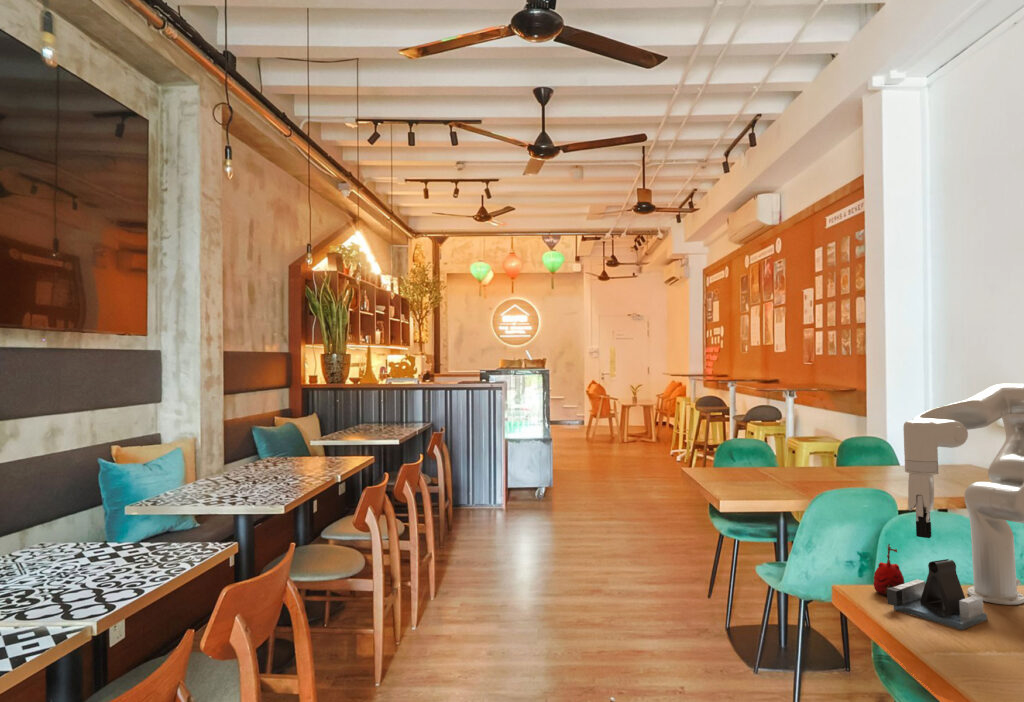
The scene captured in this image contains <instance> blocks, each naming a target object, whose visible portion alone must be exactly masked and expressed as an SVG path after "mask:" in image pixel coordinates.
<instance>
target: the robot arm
mask: <svg viewBox="0 0 1024 702" xmlns="http://www.w3.org/2000/svg"><path fill="white" fill-rule="evenodd" d="M1001 419H1002V423H1003V427H1004V432H1005V441H1004V443H1003V445H1002V446H1001V448H1000V449H999V451H998V452H997V454H996V455H995V457H994V459H993V460H992V462H991V464H990V465H989V466H988V470H987V477H988V478H989V480H990V481H975V482H973V483H970V484H969V485H968V486H966V488H965V490H964V505H965V506H966V507H965V508H966V510H967V514H968V518H969V524H970V525H969V526H970V537H971V538H970V541H971V554H972V555H971V556H972V557H971V558H972V571H973V572H972V577H973V585H972V586H968V588H967V594H968V595H969V597H970V596H973V595H975V596H979V597H983V602H985V603H990V604H991V603H992V604H997V605H1007V606H1014V605H1015V606H1016V605H1021V604H1024V595H1023V594H1021V593H1020V592H1018V586H1020V585H1021V581H1020V579H1019V578H1017V572H1016V570H1017V569H1016V553H1015V537H1014V534H1013V533H1014V532H1013V530H1012V527H1011V526H1010V524H1009V523H1008V521H1009V522H1012V523H1013V522H1014V523H1017V524H1019V523H1020V524H1024V383H997V384H994V385H990V386H988V387H987V388H985V389H983V390H981V391H980V392H978V393H976V394H974V395H973V396H970V397H968V398H967V399H964V400H961V401H956V402H952V403H949V404H946V405H942V406H938V407H935V408H931V409H929V410H925V411H923V412H922V413H920V414H918V415H917V416H915V417H913V418H912V419H911V420H907V421H905V422H904V424H903V428H902V429H903V451H904V453H903V454H904V472H905V473H908V480H907V481H908V483H907V484H908V487H907V488H908V489H907V490H908V491H907V492H908V494H907V495H908V496H907V498H908V499H907V504H908V505H907V507H908V508H907V509H908V511H913V510H914V509H915V535H916V537H918V538H926V539H931V538H932V522H931V511H932V510H933V508H934V507H935V481H934V480H935V479H934V478H935V477H934V475H939V474H940V473H939V452H938V449H939V448H947V449H948V448H949V449H950V448H952V449H953V448H959V447H961V446H962V445H964V444H966V442H967V440H968V437H969V433H968V430H976V429H978V430H979V429H982V428H985V427H989V426H990V425H992V424H993V423H995V422H997V421H999V420H1001Z"/></svg>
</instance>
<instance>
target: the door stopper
mask: <svg viewBox="0 0 1024 702" xmlns="http://www.w3.org/2000/svg"><path fill="white" fill-rule="evenodd" d="M927 564H928V565H927V566H928V574H927V578H926V581H925V587H924V590H923V593H922V597H921V600H920V603H922V604H925V605H927V606H930V607H933V608H936V609H938V610H941V611H943V612H946V613H949V614H956V613H960V605H959V601H960V600H962V599H965V598H966V595H965V594H964V591H963V588H962V584H961V582H960V580H959V577H958V574H957V564H956V562H955V561H954V560H953V559H950V558H946V559H940V560H934V561H930V562H928V563H927Z"/></svg>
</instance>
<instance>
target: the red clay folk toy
mask: <svg viewBox="0 0 1024 702" xmlns="http://www.w3.org/2000/svg"><path fill="white" fill-rule="evenodd" d="M885 546H886V547H887V554H886V558H887V561H886V562H882V561H880V562H879V563H878V567H877V568H876V570H875V571H874V574H873V587H874V588H873V589H874V590H875V591H876V593H878V594H879V595H881V596H884V597H887V588H890V587H895V586H898V585H901V584H905V579H904V576H903V573H902V571H901V570H900V565H899V564H897V563H891V560H890V558H891V557H890V552H891V551H893V552H895V553H898V549H897V548H895V549H893V548H891V546H890V543H888V544H886V545H885Z"/></svg>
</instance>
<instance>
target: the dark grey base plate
mask: <svg viewBox="0 0 1024 702" xmlns="http://www.w3.org/2000/svg"><path fill="white" fill-rule="evenodd" d="M920 600H921V598H919V599H916V600H913V601H910V602H908V603H905V604H903V605H901V606H898V607H896V606H893V609H894V611H898V612H902V613H904V612H905V614H908V615H911V614H912V615H911V616H914V615H915V617H917V616H918V618H921V619H923V620H928V621H931V622H934V623H936V624H941V625H945V626H947V627H951V628H953V629H957V630H960V631H963V630H965V629H967V628H971V627H973V626H976V625H978V624H980V623H983V622H985V621H987V620H988V615H987V613H985V612H984V601H983V597H979V596H975V595H973V596H970V595H969V596H968V597H965V599H962V600H960V601H959V605H960V613H956V614H949V613H946V612H943V611H941V610H938V609H936V608H933V607H930V606H927V605H925V604H922V603H920Z"/></svg>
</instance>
